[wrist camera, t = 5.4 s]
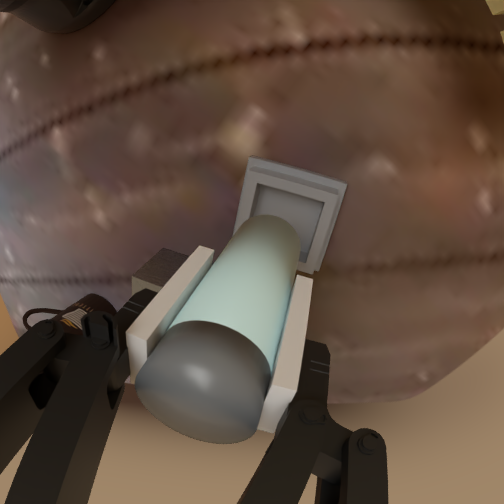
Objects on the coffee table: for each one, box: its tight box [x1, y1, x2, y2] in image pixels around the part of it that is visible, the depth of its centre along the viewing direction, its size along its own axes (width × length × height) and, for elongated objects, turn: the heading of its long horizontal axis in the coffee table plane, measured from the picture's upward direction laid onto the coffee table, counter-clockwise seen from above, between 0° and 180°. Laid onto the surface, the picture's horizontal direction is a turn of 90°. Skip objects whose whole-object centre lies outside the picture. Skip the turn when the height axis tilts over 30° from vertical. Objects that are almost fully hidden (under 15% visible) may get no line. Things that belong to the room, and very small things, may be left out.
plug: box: [135, 214, 301, 444], centre depth 14 cm, size 4×4×12 cm
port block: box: [132, 248, 213, 296], centre depth 30 cm, size 10×10×6 cm
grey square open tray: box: [233, 155, 347, 275], centre depth 25 cm, size 8×8×3 cm
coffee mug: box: [23, 294, 117, 335], centre depth 33 cm, size 12×9×10 cm
